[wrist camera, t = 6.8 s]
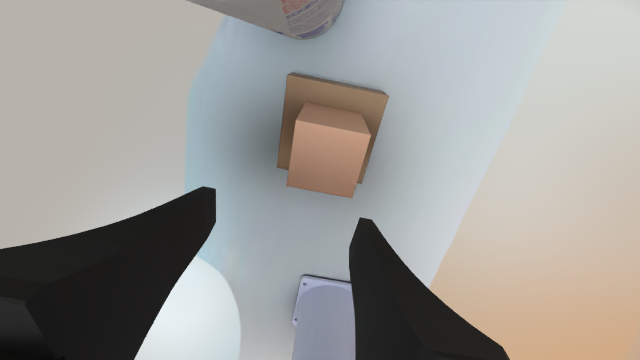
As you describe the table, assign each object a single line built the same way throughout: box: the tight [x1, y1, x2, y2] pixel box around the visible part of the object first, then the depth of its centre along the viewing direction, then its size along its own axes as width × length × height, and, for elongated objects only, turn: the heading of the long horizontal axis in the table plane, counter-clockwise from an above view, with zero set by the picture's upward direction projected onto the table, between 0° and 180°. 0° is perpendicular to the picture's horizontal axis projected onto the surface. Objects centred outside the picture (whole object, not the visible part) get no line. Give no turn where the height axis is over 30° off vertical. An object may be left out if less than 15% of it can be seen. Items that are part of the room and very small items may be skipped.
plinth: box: [277, 73, 389, 184], centre depth 19 cm, size 7×7×2 cm
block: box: [287, 102, 371, 198], centre depth 16 cm, size 4×4×5 cm
